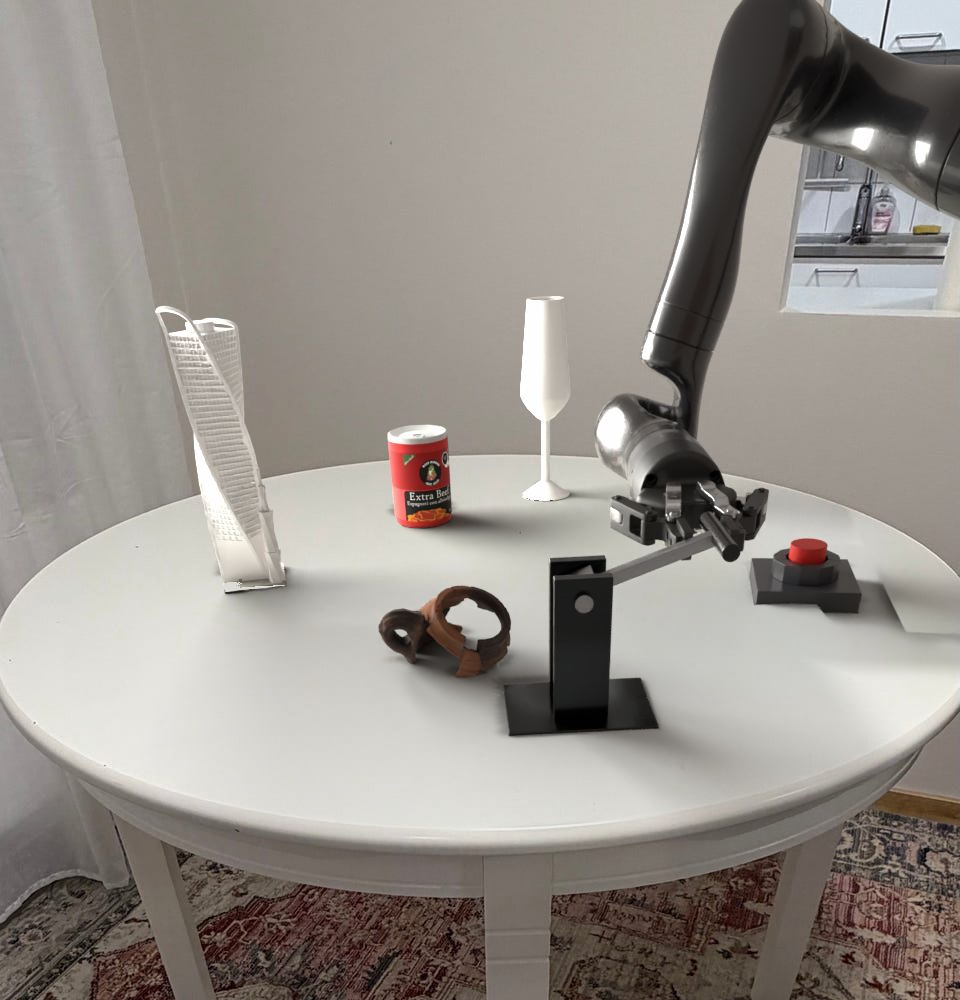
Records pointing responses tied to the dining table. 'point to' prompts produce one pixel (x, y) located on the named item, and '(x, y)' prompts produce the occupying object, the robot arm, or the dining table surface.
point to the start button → (808, 551)
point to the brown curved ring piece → (448, 630)
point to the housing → (805, 583)
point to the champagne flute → (545, 379)
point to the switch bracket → (578, 663)
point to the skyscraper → (225, 450)
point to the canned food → (420, 475)
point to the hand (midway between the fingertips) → (711, 546)
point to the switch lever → (677, 551)
